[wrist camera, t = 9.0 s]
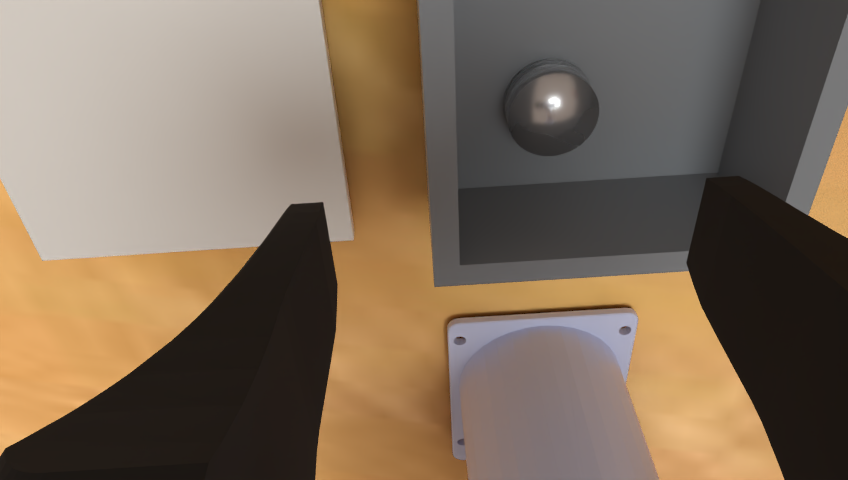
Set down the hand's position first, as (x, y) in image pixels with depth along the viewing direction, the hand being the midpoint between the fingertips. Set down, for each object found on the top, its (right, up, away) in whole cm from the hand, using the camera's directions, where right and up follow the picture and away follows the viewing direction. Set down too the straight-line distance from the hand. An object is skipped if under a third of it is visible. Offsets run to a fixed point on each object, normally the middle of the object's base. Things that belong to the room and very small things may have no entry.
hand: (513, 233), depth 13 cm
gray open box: (+4, +7, +8) cm, 11 cm away
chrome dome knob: (+2, +4, +9) cm, 10 cm away
